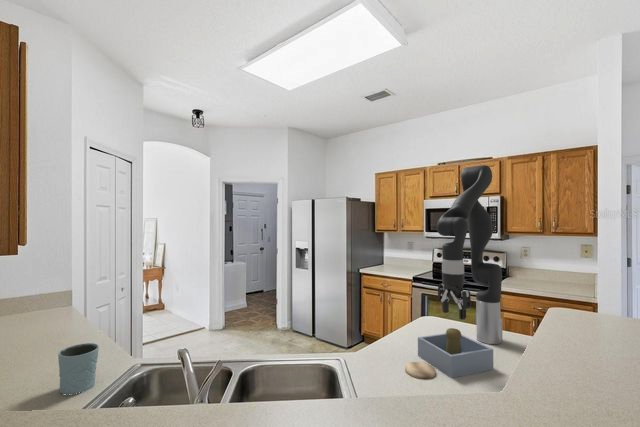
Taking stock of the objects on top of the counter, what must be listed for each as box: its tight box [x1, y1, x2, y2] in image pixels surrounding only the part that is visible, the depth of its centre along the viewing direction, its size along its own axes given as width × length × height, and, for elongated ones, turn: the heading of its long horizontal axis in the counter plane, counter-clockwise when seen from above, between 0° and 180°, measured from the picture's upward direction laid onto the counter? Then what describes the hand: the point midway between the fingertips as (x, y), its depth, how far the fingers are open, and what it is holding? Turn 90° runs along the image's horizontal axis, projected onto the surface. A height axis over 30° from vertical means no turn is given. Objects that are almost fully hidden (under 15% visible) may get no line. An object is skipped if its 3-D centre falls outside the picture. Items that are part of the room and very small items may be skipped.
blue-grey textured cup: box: [57, 342, 100, 395], centre depth 99 cm, size 10×10×12 cm
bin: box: [417, 332, 494, 379], centre depth 116 cm, size 18×18×7 cm
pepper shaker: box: [445, 327, 462, 355], centre depth 116 cm, size 6×6×11 cm
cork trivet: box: [404, 361, 437, 380], centre depth 109 cm, size 10×10×1 cm
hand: (453, 315), depth 116 cm, fingers open, 8 cm apart
